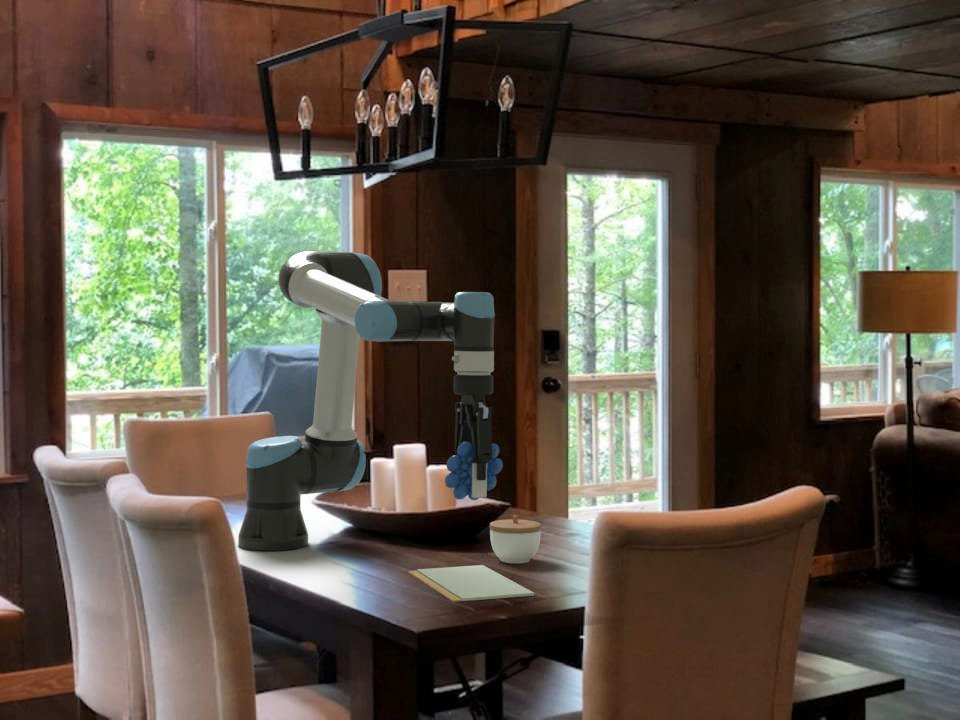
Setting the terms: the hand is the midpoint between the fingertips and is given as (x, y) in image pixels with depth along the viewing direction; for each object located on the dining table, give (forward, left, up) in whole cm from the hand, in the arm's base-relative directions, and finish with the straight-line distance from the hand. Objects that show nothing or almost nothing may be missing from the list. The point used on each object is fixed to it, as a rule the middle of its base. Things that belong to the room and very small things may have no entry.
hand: (472, 494), depth 237 cm
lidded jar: (-17, +16, -17) cm, 29 cm away
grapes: (0, 0, -1) cm, 1 cm away
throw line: (+1, -8, -17) cm, 19 cm away
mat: (+1, 0, -17) cm, 17 cm away
